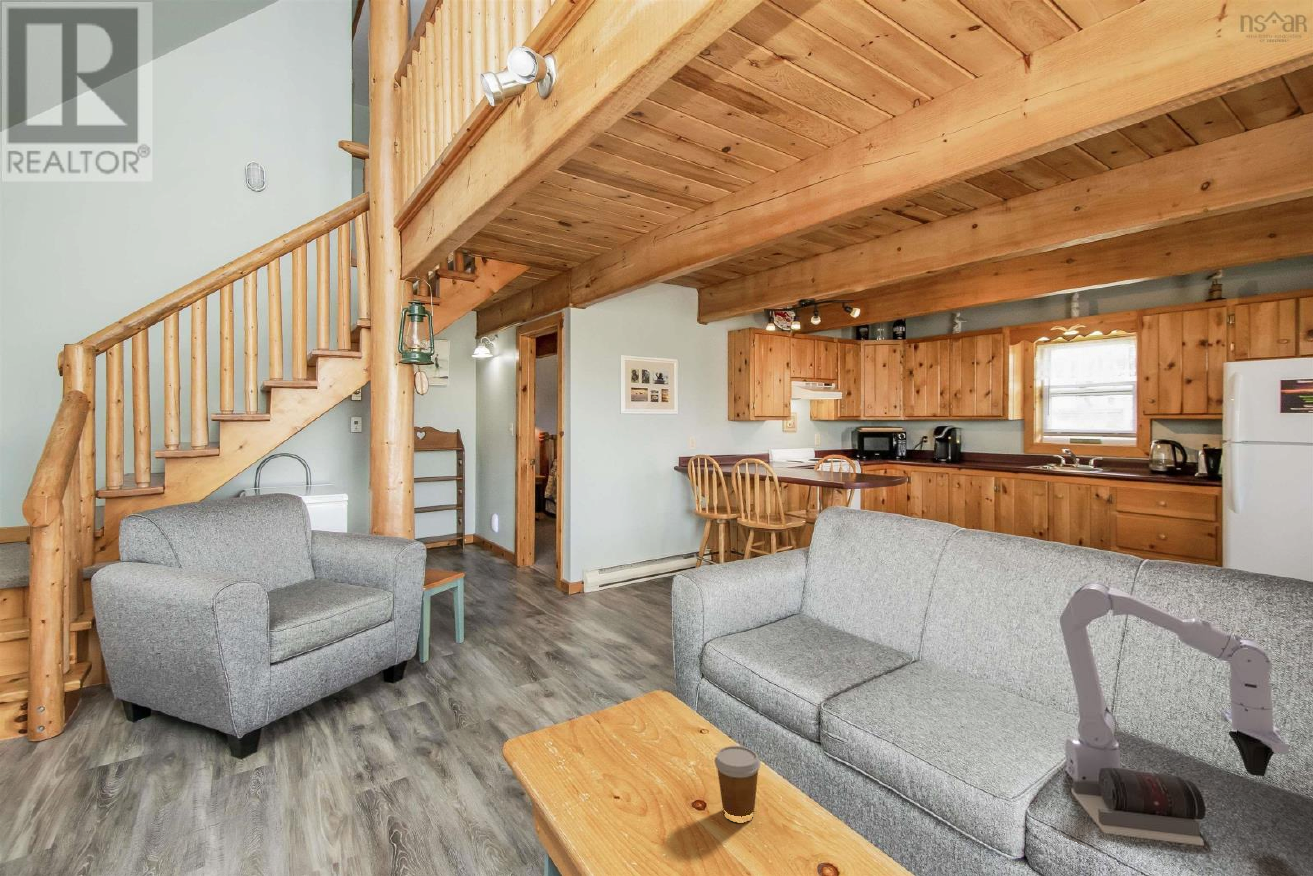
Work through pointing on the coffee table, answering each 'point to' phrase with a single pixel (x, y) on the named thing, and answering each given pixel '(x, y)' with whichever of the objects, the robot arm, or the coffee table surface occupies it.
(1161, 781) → the dark patterned cylinder
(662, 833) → the coffee table surface
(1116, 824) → the lens cradle
